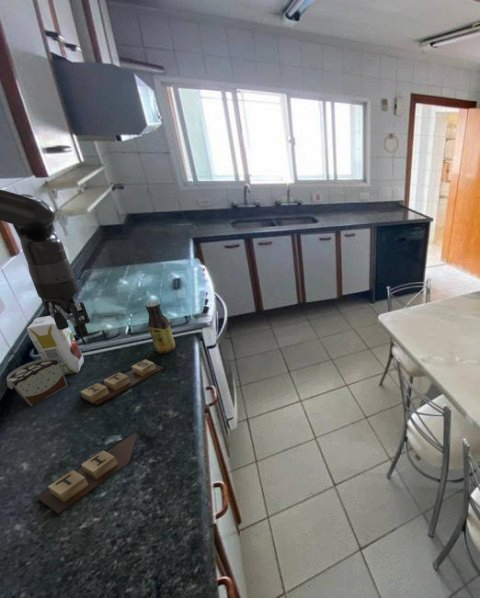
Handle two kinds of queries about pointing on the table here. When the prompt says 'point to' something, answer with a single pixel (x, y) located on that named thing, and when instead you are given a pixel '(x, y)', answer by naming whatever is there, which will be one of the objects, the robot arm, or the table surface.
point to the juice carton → (56, 344)
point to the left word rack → (87, 476)
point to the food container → (37, 380)
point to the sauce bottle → (160, 329)
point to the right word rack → (114, 386)
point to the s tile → (143, 367)
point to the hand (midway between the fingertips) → (73, 332)
